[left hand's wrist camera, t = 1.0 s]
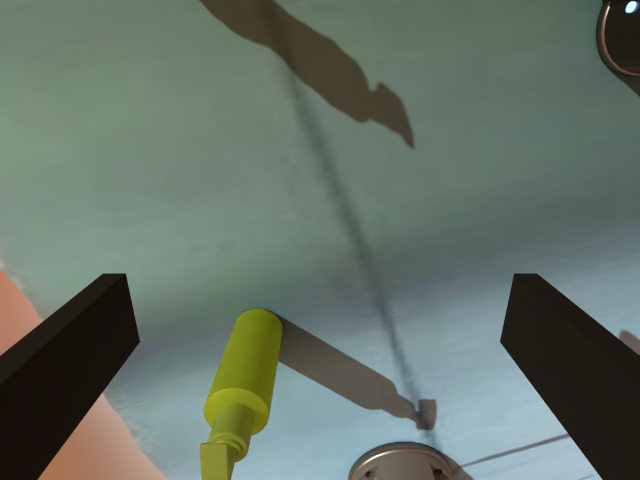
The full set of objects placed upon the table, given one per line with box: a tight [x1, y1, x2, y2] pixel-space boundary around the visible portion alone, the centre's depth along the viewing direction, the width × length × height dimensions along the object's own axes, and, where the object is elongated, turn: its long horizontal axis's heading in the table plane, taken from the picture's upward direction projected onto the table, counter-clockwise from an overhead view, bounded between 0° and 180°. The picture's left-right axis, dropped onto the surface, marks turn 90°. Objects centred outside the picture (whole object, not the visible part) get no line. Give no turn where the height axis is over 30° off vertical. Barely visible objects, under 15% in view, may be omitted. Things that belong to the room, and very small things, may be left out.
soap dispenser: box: [200, 309, 283, 480], centre depth 36 cm, size 6×7×20 cm
